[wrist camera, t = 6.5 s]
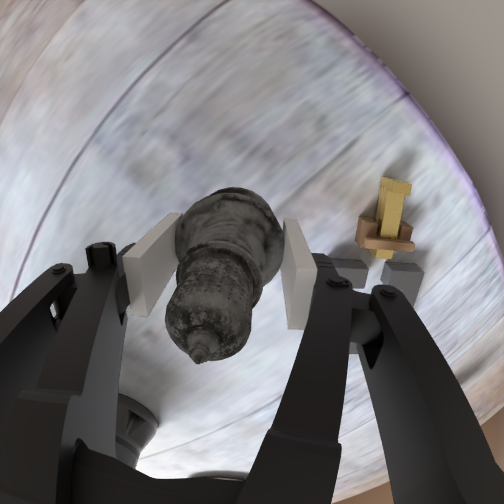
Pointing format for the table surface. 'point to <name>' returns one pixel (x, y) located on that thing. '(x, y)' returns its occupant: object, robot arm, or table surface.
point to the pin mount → (368, 240)
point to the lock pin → (389, 212)
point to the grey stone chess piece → (222, 272)
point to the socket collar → (382, 279)
